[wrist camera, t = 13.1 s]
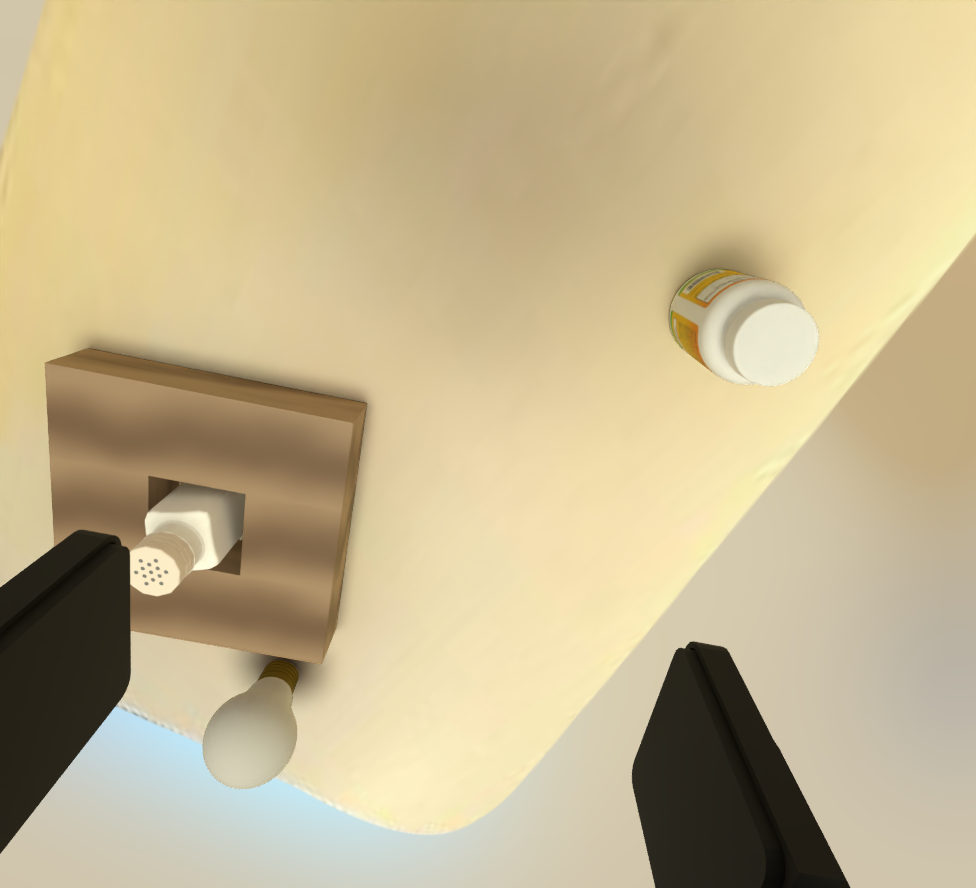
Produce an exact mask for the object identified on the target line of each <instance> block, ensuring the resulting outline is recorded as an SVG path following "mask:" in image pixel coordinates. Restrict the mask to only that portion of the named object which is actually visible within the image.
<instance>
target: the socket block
mask: <svg viewBox="0 0 976 888" xmlns="http://www.w3.org/2000/svg"><path fill="white" fill-rule="evenodd" d="M45 377H46V396H47V415H48V434H49V453H50V472H51V491H52V510H53V529H54V547H55V546H56V545H57V544H59V543H60V542H61V541H63V540H64V539H65V538H67V537H68V536H69V535H71V534H72V533H73V532H75V531H77V530H88V531H94V532H99V533H105V534H110V535H116V536H117V537H119V539H120V541H121V544H122V546H126V547H127V548H128V549H129V551H131V550H132V549H133V548H134V547H135V546H136V545H137V544H139V543H140V542H141V541H142V540H143V539H144V538H145V537H146V529H145V518H146V516H147V513H148V512H149V511H150V510H151V509H152V508H153V507H154V506H156V505H157V504H158V503H159V502H160V501H161V500H163V499H164V498H165V497H166V496H167V495H168V494H170V493H171V492H172V491H173V490H174V489H176V488H177V487H178V486H179V482H184V483H190V484H195V485H200V486H206V487H211V488H216V489H222V490H227V491H232V492H238V493H243V494H246V498H245V512H244V526H243V541H239V540H238V541H237V542H236V543H235V544H234V546H233V547H232V548H231V549H230V551H229V552H228V553H227V554H226V556H225V557H224V558H223V559H222V561H221V562H220V563H219V564H218V565H216V566H214V567H213V568H211V569H204V570H193V571H191V572H190V573H189V574H188V575H187V576H186V577H185V578H184V579H183V580H182V581H181V583H180V584H179V585H178V586H177V587H176V588H175V589H174V590H173V591H172V593H169V594H165V595H161V596H153V595H149V594H144V593H142V592H140V591H139V590H137V589H136V588H135V587H133V586H132V585H130V631H135V632H141V633H146V634H152V635H158V636H163V637H169V638H175V639H181V640H186V641H192V642H198V643H203V644H209V645H215V646H220V647H226V648H232V649H237V650H243V651H249V652H254V653H260V654H266V655H271V656H277V657H283V658H288V659H294V660H300V661H305V662H311V663H317V664H322V662H323V660H324V657H325V655H326V652H327V650H328V647H329V645H330V642H331V640H332V637H333V635H334V632H335V630H336V625H337V618H338V611H339V604H340V596H341V589H342V582H343V574H344V567H345V560H346V553H347V545H348V538H349V531H350V524H351V516H352V509H353V502H354V495H355V487H356V480H357V473H358V465H359V458H360V451H361V444H362V436H363V429H364V422H365V415H366V407H367V403H362V402H357V401H352V400H347V399H342V398H337V397H332V396H327V395H322V394H317V393H312V392H307V391H302V390H296V389H291V388H286V387H281V386H276V385H271V384H266V383H261V382H256V381H251V380H246V379H241V378H236V377H231V376H226V375H220V374H215V373H210V372H205V371H200V370H195V369H190V368H185V367H180V366H175V365H170V364H165V363H160V362H155V361H149V360H144V359H139V358H134V357H129V356H124V355H119V354H114V353H109V352H104V351H99V350H94V349H89V348H87V349H84V350H81V351H78V352H75V353H72V354H69V355H66V356H63V357H60V358H57V359H54V360H51V361H48V362H46V363H45Z"/></svg>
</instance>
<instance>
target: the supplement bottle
mask: <svg viewBox="0 0 976 888" xmlns="http://www.w3.org/2000/svg"><path fill="white" fill-rule="evenodd" d="M669 323H670V329H671V332H672V335H673V337H674V339H675V341H676V342H677V343H678V345H679V346H680V347H681V348H682V349H683V350H684V351H686V352H687V353H688V354H689V355H691V356H692V357H693V358H695V359H696V360H697V361H699V362H700V363H701V364H702V365H704V366H705V367H706V368H707V369H709V370H710V371H711V372H713V373H714V374H715V375H717V376H718V377H720V378H722V379H724V380H726V381H728V382H731V383H735V384H740V385H753V384H757V385H761V386H778V385H782V384H785V383H787V382H790V381H792V380H794V379H795V378H797V377H798V376H799V375H801V374H802V373H803V372H804V371H805V370H806V369H807V368H808V367H809V365H810V364H811V362H812V361H813V359H814V357H815V355H816V352H817V348H818V343H819V333H818V328H817V325H816V323H815V321H814V319H813V317H812V316H811V315H810V314H809V313H808V312H807V311H806V310H805V308H804V305H803V304H802V302H801V300H800V299H799V298H798V297H797V296H796V294H795V293H794V292H792V291H791V290H790V289H788V288H787V287H785V286H783V285H781V284H779V283H776V282H773V281H770V280H766V279H761V278H758V277H754V276H750V275H746V274H742V273H739V272H735V271H731V270H725V269H714V270H708V271H705V272H702V273H700V274H697V275H695V276H694V277H692V278H691V279H689V280H688V281H687V282H686V283H685V284H684V285H683V286H682V287H681V288H680V289H679V290H678V292H677V293H676V295H675V297H674V299H673V301H672V304H671V308H670V313H669Z"/></svg>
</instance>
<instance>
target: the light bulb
mask: <svg viewBox="0 0 976 888" xmlns="http://www.w3.org/2000/svg"><path fill="white" fill-rule="evenodd" d="M298 677H299V674H298V671H297V669H296V667H295V666H294V665H293V664H291V663H289V662H287V661H284V660H275V661H272V662H270V663H269V664H268V665H267V666H266V667H265V669H264V671H263V672H262V674H261V676H260V677H259V679H258V681H257V682H255V683H254V684H253V685H252V686H251V688H250V689H249V690H248V691H246V692H244V693H242V694H239V695H237V696H235V697H233V698H231V699H230V700H228V701H227V702H225V703H224V704H223V705H222V706H221V707H220V708H219V709H218V710H217V711H216V712H215V714H214V715H213V717H212V718H211V720H210V721H209V723H208V725H207V728H206V731H205V734H204V739H203V757H204V760H205V764H206V766H207V768H208V770H209V771H210V773H211V774H212V776H213V777H214V778H215V779H216V780H218V781H219V782H220V783H222V784H224V785H226V786H228V787H231V788H236V789H249V788H254V787H258V786H260V785H262V784H265V783H267V782H269V781H270V780H272V779H273V778H274V777H276V776H277V775H278V774H279V773H280V772H281V771H282V770H283V769H284V767H285V766H286V765H287V763H288V762H289V760H290V758H291V756H292V754H293V751H294V749H295V745H296V740H297V725H296V720H295V717H294V714H293V712H292V709H291V705H292V699H293V698H292V695H293V692H294V689H295V686H296V684H297V681H298Z"/></svg>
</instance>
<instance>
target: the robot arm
mask: <svg viewBox="0 0 976 888" xmlns="http://www.w3.org/2000/svg"><path fill="white" fill-rule="evenodd" d="M130 674H131V643H130V551H129V549H128V548H127V547H126V546H122V544H121V541H120V539H119V537H117V536H116V535H110V534H105V533H99V532H94V531H88V530H77V531H75V532H73V533H72V534H71V535H69V536H68V537H67V538H65V539H64V540H63V541H61V542H60V543H59V544H57V545H56V546H55V547H53V548H52V549H51V550H49V551H48V552H47V553H45V554H44V555H43V556H41V557H40V558H39V559H37V560H36V561H35V562H33V563H32V564H31V565H29V566H28V567H27V568H25V569H24V570H23V571H21V572H20V573H19V574H17V575H16V576H15V577H14V578H12V579H11V580H10V581H8V582H7V583H6V584H4V585H3V586H2V587H0V853H1V852H2V851H3V850H4V848H5V847H6V846H7V845H8V843H9V842H10V841H11V839H12V838H13V837H14V836H15V834H16V833H17V832H18V830H19V829H20V828H21V826H22V825H23V824H24V823H25V821H26V820H27V819H28V818H29V816H30V815H31V814H32V813H33V811H34V810H35V808H36V807H37V806H38V805H39V804H40V802H41V801H42V800H43V798H44V797H45V796H46V794H47V793H48V792H49V791H50V789H51V788H52V787H53V786H54V784H55V783H56V781H57V780H58V779H59V778H60V777H61V775H62V774H63V773H64V771H65V770H66V769H67V768H68V766H69V765H70V764H71V763H72V761H73V760H74V759H75V757H76V756H77V755H78V754H79V752H80V751H81V750H82V748H83V747H84V746H85V745H86V743H87V742H88V741H89V739H90V738H91V737H92V735H93V734H94V733H95V732H96V731H97V729H98V728H99V727H100V725H101V724H102V723H103V722H104V720H105V719H106V718H107V716H108V715H109V714H110V713H111V711H112V710H113V709H114V707H115V706H116V705H117V704H118V702H119V701H120V700H121V698H122V697H123V695H124V693H125V691H126V690H127V687H128V684H129V681H130ZM632 784H633V789H634V794H635V798H636V803H637V807H638V812H639V816H640V820H641V825H642V829H643V834H644V838H645V843H646V847H647V851H648V856H649V861H650V865H651V870H652V874H653V879H654V883H655V888H850V886H849V884H848V882H847V880H846V878H845V876H844V874H843V872H842V870H841V868H840V866H839V864H838V862H837V860H836V859H835V857H834V855H833V853H832V851H831V849H830V847H829V845H828V843H827V841H826V839H825V837H824V835H823V833H822V831H821V829H820V827H819V826H818V823H817V822H816V820H815V817H814V816H813V814H812V812H811V810H810V808H809V806H808V804H807V802H806V800H805V798H804V796H803V794H802V792H801V790H800V788H799V786H798V784H797V782H796V780H795V778H794V776H793V774H792V773H791V771H790V769H789V767H788V765H787V763H786V761H785V759H784V757H783V755H782V753H781V751H780V749H779V747H778V746H777V745H776V743H775V742H774V740H773V738H772V736H771V734H770V732H769V730H768V728H767V726H766V724H765V722H764V720H763V718H762V716H761V714H760V712H759V710H758V709H757V706H756V705H755V703H754V701H753V699H752V697H751V695H750V693H749V691H748V689H747V687H746V685H745V683H744V681H743V679H742V677H741V675H740V673H739V671H738V669H737V667H736V665H735V663H734V661H733V659H732V657H731V656H730V653H729V652H728V650H727V649H726V648H724V647H721V646H715V645H710V644H704V643H699V642H690V643H689V644H688V645H687V646H686V648H685V649H683V648H678V649H677V650H676V652H675V654H674V656H673V659H672V662H671V664H670V667H669V670H668V672H667V675H666V678H665V681H664V683H663V686H662V689H661V691H660V694H659V696H658V699H657V702H656V704H655V707H654V710H653V712H652V715H651V718H650V720H649V723H648V726H647V728H646V731H645V734H644V736H643V739H642V741H641V744H640V747H639V750H638V752H637V755H636V757H635V760H634V764H633V769H632Z"/></svg>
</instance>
